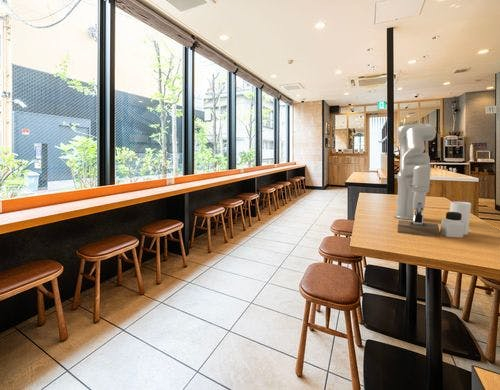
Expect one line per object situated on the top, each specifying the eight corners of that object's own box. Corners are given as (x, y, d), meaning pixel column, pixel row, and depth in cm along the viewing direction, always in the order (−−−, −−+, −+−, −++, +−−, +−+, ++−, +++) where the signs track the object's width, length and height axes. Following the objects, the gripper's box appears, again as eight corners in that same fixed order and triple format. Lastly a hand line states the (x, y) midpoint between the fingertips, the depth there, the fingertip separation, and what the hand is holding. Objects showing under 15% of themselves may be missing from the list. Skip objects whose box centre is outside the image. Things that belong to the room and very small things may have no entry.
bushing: (412, 229, 140) (413, 213, 139) (422, 230, 138) (423, 214, 136) (412, 231, 136) (413, 215, 135) (422, 233, 134) (423, 216, 133)
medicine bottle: (463, 238, 125) (466, 214, 122) (446, 237, 126) (449, 214, 124) (455, 232, 131) (458, 210, 129) (439, 232, 133) (442, 210, 131)
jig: (398, 226, 147) (399, 219, 146) (437, 231, 137) (437, 223, 136) (397, 232, 137) (397, 224, 136) (438, 237, 127) (439, 228, 126)
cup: (449, 229, 140) (452, 200, 137) (468, 232, 134) (472, 202, 131) (446, 232, 134) (449, 202, 132) (467, 235, 128) (470, 204, 126)
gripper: (412, 186, 143) (410, 216, 145) (411, 190, 128) (409, 223, 131) (428, 187, 139) (426, 217, 141) (429, 191, 124) (427, 225, 127)
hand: (418, 220), depth 136 cm, fingers open, 9 cm apart
